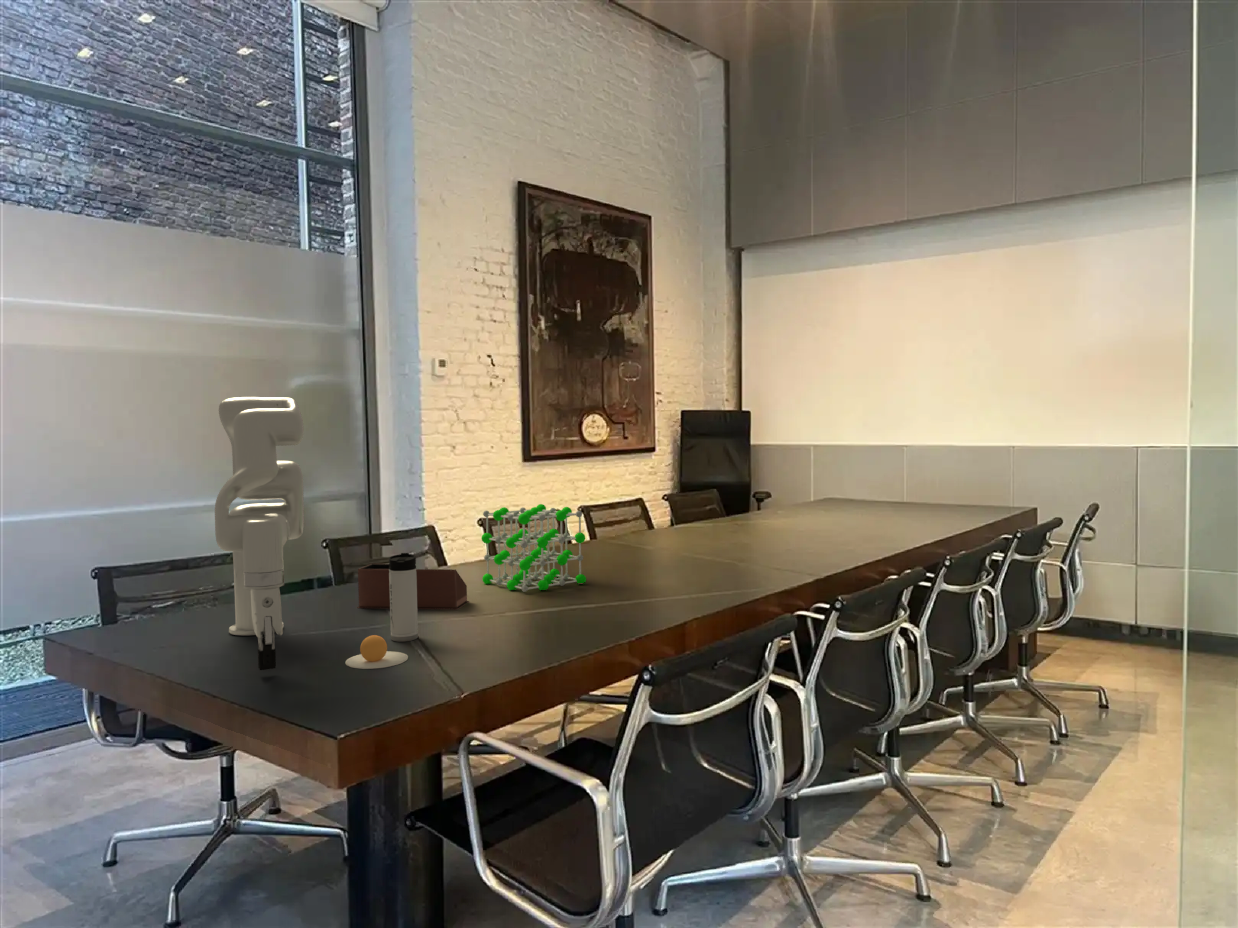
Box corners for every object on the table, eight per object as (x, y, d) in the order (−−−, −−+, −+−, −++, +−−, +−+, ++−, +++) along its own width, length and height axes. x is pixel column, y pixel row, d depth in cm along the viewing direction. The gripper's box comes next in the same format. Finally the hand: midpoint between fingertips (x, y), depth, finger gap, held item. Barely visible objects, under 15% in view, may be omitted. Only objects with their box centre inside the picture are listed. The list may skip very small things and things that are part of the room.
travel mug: (420, 634, 207) (418, 552, 207) (415, 641, 201) (412, 556, 200) (394, 635, 207) (392, 552, 206) (388, 642, 201) (385, 557, 200)
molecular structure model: (543, 574, 289) (542, 503, 288) (588, 584, 269) (587, 508, 268) (480, 584, 273) (478, 508, 272) (523, 595, 254) (522, 514, 253)
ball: (365, 628, 186) (389, 637, 188) (354, 652, 186) (379, 661, 188) (368, 635, 181) (392, 643, 183) (356, 659, 180) (381, 668, 182)
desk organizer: (371, 601, 250) (370, 562, 249) (469, 602, 246) (468, 563, 245) (356, 609, 239) (355, 569, 239) (457, 610, 235) (457, 569, 235)
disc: (340, 657, 188) (340, 656, 188) (399, 649, 194) (399, 648, 194) (352, 672, 176) (351, 671, 176) (414, 662, 183) (414, 662, 183)
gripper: (288, 582, 169) (291, 674, 170) (279, 571, 182) (282, 657, 183) (247, 586, 166) (250, 680, 167) (240, 575, 179) (244, 662, 180)
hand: (267, 668), depth 175 cm, fingers closed
